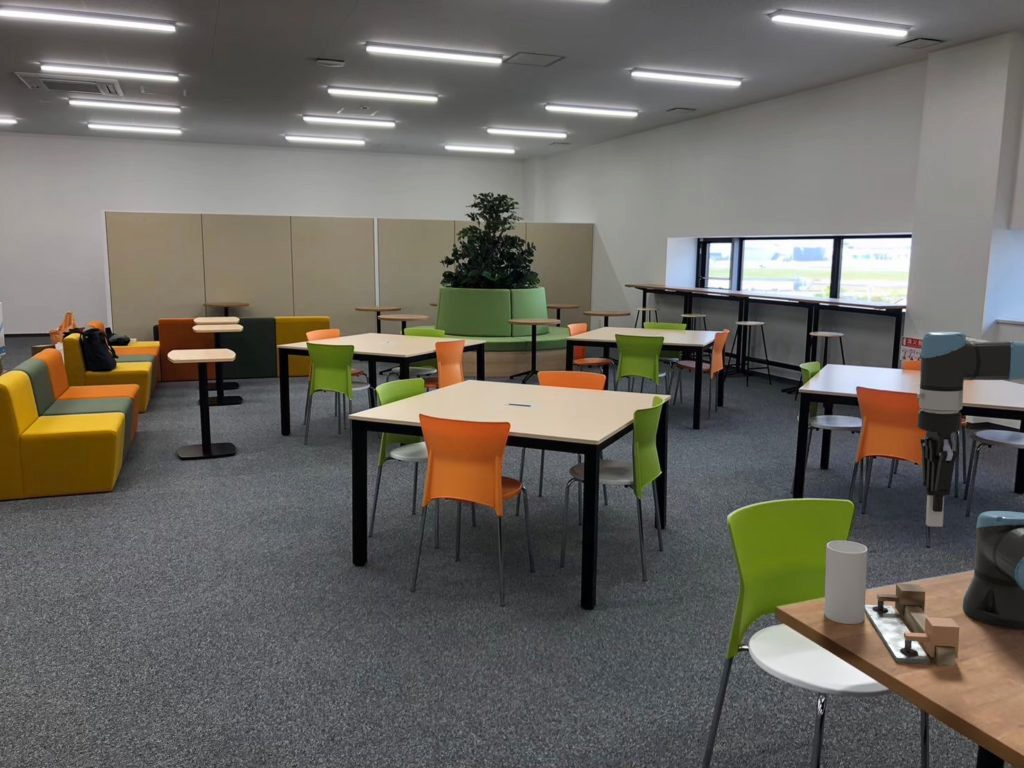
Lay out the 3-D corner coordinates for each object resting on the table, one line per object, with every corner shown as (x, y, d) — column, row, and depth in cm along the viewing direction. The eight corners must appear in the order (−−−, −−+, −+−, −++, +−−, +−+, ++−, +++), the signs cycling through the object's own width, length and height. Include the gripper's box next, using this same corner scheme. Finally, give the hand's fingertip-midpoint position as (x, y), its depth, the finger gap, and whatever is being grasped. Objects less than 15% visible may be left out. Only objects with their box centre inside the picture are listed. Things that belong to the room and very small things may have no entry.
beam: (912, 611, 175) (913, 598, 175) (954, 665, 151) (955, 651, 150) (898, 610, 176) (899, 597, 175) (938, 664, 151) (938, 650, 151)
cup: (868, 625, 169) (871, 554, 167) (828, 622, 170) (830, 552, 168) (859, 609, 177) (862, 541, 174) (821, 607, 178) (823, 539, 176)
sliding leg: (949, 648, 156) (951, 618, 155) (957, 658, 152) (959, 627, 151) (901, 646, 157) (902, 615, 156) (907, 655, 153) (909, 624, 152)
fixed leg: (918, 608, 174) (919, 584, 174) (924, 616, 170) (925, 591, 170) (874, 606, 176) (876, 582, 175) (880, 614, 172) (881, 589, 171)
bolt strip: (891, 610, 176) (891, 605, 176) (929, 664, 152) (929, 658, 151) (862, 608, 177) (863, 603, 177) (896, 662, 153) (896, 656, 152)
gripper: (908, 404, 162) (903, 515, 165) (931, 416, 149) (925, 535, 152) (947, 404, 161) (942, 516, 164) (974, 416, 148) (967, 536, 151)
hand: (934, 525), depth 158 cm, fingers closed
